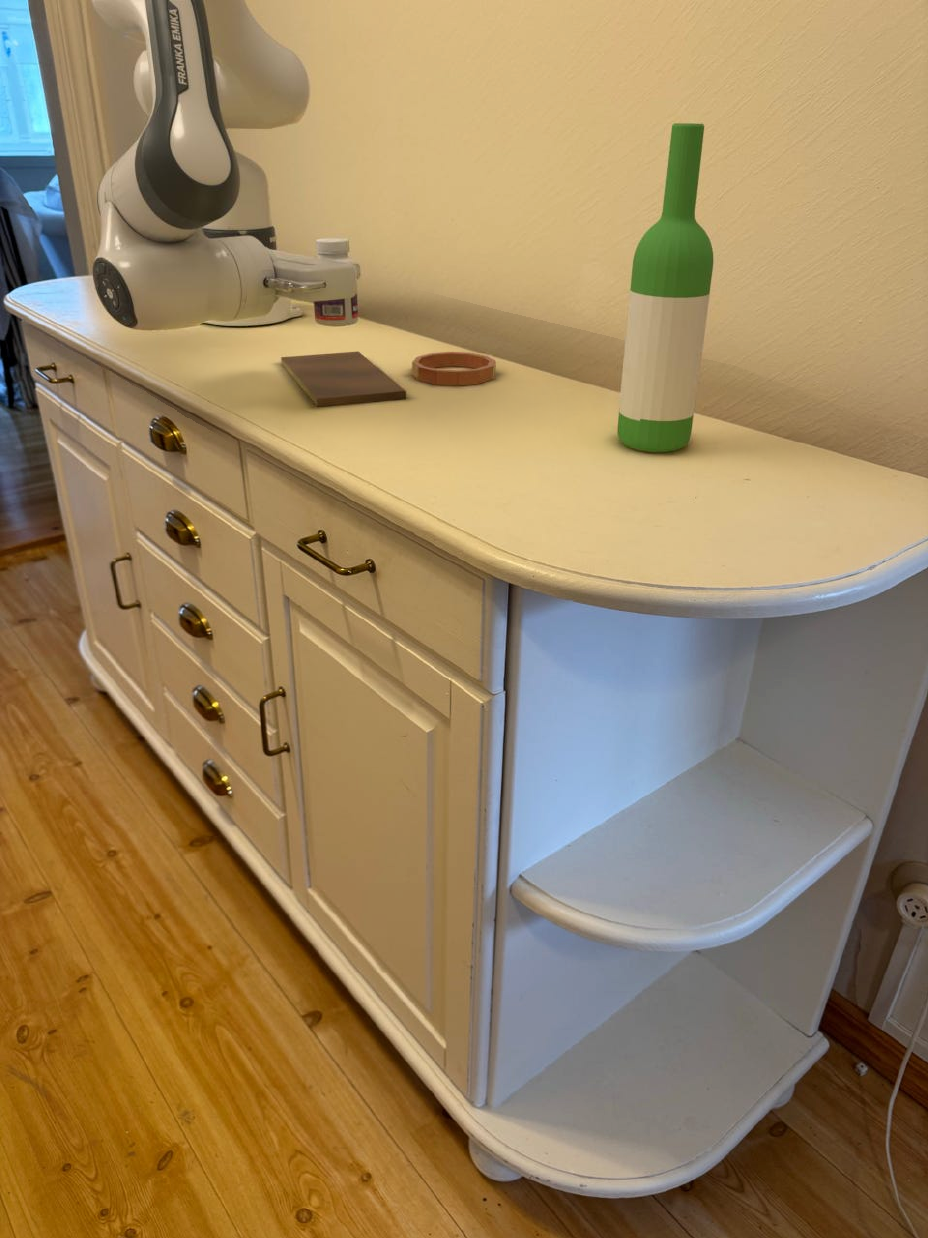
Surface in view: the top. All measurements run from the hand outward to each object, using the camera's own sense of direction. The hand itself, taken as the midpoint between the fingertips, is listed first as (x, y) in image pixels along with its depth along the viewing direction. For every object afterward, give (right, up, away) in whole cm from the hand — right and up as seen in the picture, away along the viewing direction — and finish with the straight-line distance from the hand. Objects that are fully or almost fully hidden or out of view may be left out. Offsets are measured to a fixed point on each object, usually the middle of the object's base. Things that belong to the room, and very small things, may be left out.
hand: (339, 267), depth 114 cm
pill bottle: (-1, -6, +3) cm, 7 cm away
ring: (+14, -11, +9) cm, 20 cm away
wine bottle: (+35, -25, -15) cm, 46 cm away
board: (-1, -12, +6) cm, 14 cm away
